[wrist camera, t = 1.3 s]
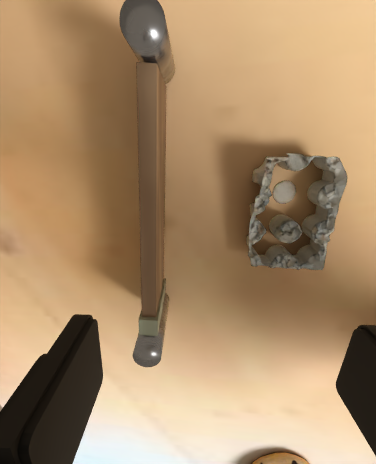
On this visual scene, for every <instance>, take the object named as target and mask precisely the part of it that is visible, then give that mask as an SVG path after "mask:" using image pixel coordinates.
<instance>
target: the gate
mask: <svg viewBox="0 0 376 464" xmlns="http://www.w3.org/2000/svg"><path fill="white" fill-rule="evenodd" d="M137 104H138V152H139V200H140V247H141V295H142V310H141V314H140V317H139V335H149V336H158V331H159V325H160V320H161V314H162V308H163V302H164V297H165V291H166V278H164V217H165V151H166V84H165V82H164V80H163V77H162V75H161V72H160V70H159V67H158V65H157V63H141V62H137Z"/></svg>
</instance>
